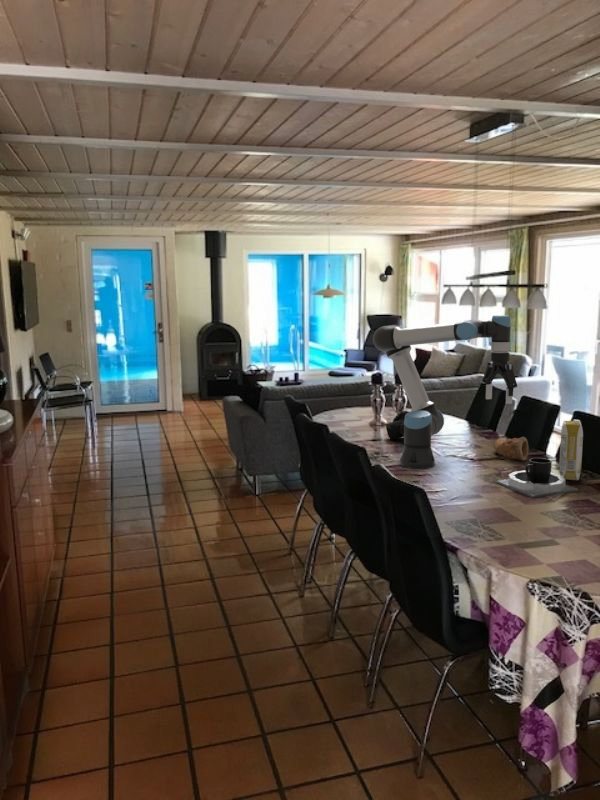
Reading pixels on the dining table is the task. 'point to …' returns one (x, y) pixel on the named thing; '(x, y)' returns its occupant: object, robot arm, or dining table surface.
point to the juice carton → (571, 449)
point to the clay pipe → (512, 448)
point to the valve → (396, 426)
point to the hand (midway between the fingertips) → (498, 401)
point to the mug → (538, 470)
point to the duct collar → (536, 485)
